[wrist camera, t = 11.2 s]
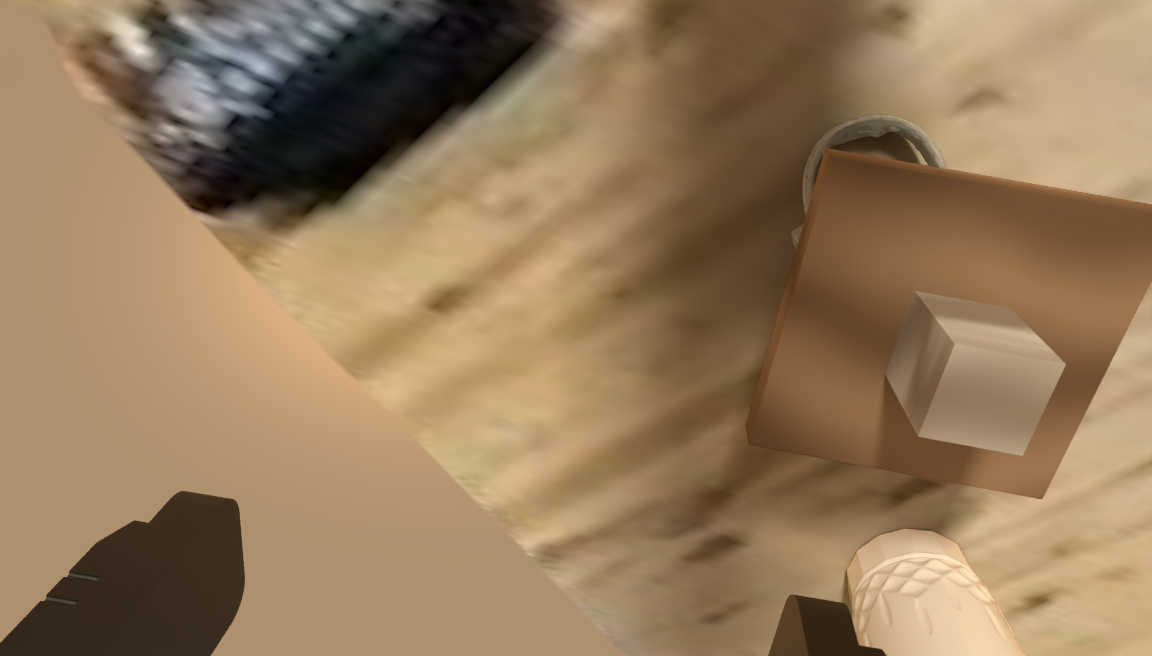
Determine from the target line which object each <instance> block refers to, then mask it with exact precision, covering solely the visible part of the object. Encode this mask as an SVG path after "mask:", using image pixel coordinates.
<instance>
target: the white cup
mask: <svg viewBox="0 0 1152 656" xmlns="http://www.w3.org/2000/svg"><path fill="white" fill-rule="evenodd" d="M847 581H848V592H849V597H850V602H851V606H852V620H853V625H854V629H855V633H856V636H857V640H858V643H859V645H861V646H867V647H872V648H878V649H882V650H883V651H884V653H885V654H886V655H887V656H1026V654H1025V652H1024V650H1023V649H1022V647H1021V645H1020V643H1019V642H1018V640H1017V638H1016V636H1015V635H1014V633H1013V631H1012V629H1011V628H1010V626H1009V624H1008V622H1007V621H1006V619H1005V617H1004V616H1003V614H1002V612H1001V610H1000V609H999V607H998V605H997V604H996V602H995V601H994V600H993V598H992V597H991V595H990V593H989V591H988V589H987V588H986V586H985V585H984V583H982V582H981V581H980V580H979V578H978V577H977V575H976V573H975V571H974V570H973V568H972V566H971V564H970V563H969V561H968V560H967V558H966V557H965V555H964V554H963V552H962V551H961V549H960V548H959V547H958V545H957V544H956V543H955V542H953V541H951V540H949V539H947V538H945V537H943V536H941V535H939V534H937V533H936V532H934V531H926V530H915V529H901V530H898V531H894V532H890V533H886V534H882V535H879V536H877V537H875V538H874V539H873V540H871V541H870V542H868V543H867V544H866V545H864V546H863V547H861V548H860V549H859V550H857V552H856V554H855V556H854V558H853V559H852V561H851V563H850V565H849V567H848V569H847Z"/></svg>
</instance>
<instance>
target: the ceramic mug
mask: <svg viewBox="0 0 1152 656" xmlns="http://www.w3.org/2000/svg"><path fill="white" fill-rule="evenodd" d="M886 132H895V133H897V134H899V135H900V136H902V137H904V138H906V139H908V140H910V141H911V142H912V143H913V144H914V146H915V148H916V149H917V150H919V151H920V153H921V154H922V156H923V158H924V159H925V161H926V162H927V164H928V166H933V167H939V168H944V169H947V168H946V164H945V161H944V159H943V157H942V155H941V152H940V150H939V149H938V148H937V147H936V145H935V143H934V142H933V140H932V139H931V138H930V137H929V136H928V135H927V134H926V133H925V132H924V131H923V130H922V129H921V128H920V127H918V126H917V125H916V124H914V123H912V122H909V121H907V120H904V119H902V118H899V117H896V116H890V115H885V114H877V115H867V116H863V117H857V118H854V119H851V120H848V121H846V122H843V123H841V124H839V125H837V126H835V127H834V128H832V129H830V130H829V131H828V132H826V133H825V134H824V135H823V136H822V138H821V139H820V140H819V141H818V142H817V144H816V145H815V146H814V148H813V150H812V152H811V154H810V156H809V158H808V161H807V164H806V167H805V171H804V176H803V183H802V191H803V204H804V213H805V216H806V214H807V210H808V207H809V203H810V200H811V196H812V193H813V180H814V174H815V169H816V167H817V166H818V163H819V161H820V158H821V157H822V156H823V154H824V151H825V148H831V147H833V146H836V145H840V144H843V143H845V142H848V141H851V140H855V139H858V138H863V137H868V136H872V137H880V136H882V135H884V134H885V133H886ZM802 228H803V225H801V226H799V227H797V228H795V229H794V230H793V231H792V239H793V244H794V246H795V250H796V248H797V245H798V242H799V238H800V235H801V231H802Z"/></svg>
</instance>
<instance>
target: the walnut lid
mask: <svg viewBox="0 0 1152 656" xmlns="http://www.w3.org/2000/svg"><path fill="white" fill-rule="evenodd" d="M1151 281H1152V204H1146V203H1140V202H1134V201H1129V200H1123V199H1117V198H1111V197H1106V196H1100V195H1094V194H1088V193H1082V192H1077V191H1071V190H1065V189H1059V188H1054V187H1048V186H1042V185H1036V184H1031V183H1025V182H1019V181H1013V180H1008V179H1002V178H996V177H990V176H985V175H979V174H973V173H967V172H962V171H956V170H950V169H944V168H939V167H933V166H927V165H921V164H915V163H910V162H904V161H898V160H892V159H887V158H881V157H875V156H869V155H864V154H858V153H852V152H846V151H841V150H835V149H829V148H825V151H824V154H823V158H822V161H821V165H820V168H819V172H818V175H817V179H816V182H815V186H814V189H813V193H812V196H811V200H810V203H809V207H808V210H807V214H806V217H805V221H804V224H803V228H802V231H801V235H800V238H799V242H798V245H797V248H796V252H795V255H794V259H793V262H792V266H791V269H790V273H789V276H788V280H787V283H786V287H785V290H784V294H783V297H782V301H781V304H780V308H779V311H778V315H777V318H776V322H775V325H774V329H773V332H772V336H771V339H770V343H769V346H768V350H767V353H766V357H765V360H764V364H763V367H762V371H761V374H760V378H759V381H758V385H757V388H756V392H755V395H754V399H753V402H752V406H751V409H750V413H749V416H748V420H747V423H746V430H747V436H748V442H749V445H753V446H759V447H764V448H769V449H775V450H780V451H785V452H791V453H796V454H801V455H807V456H812V457H818V458H823V459H828V460H834V461H839V462H844V463H850V464H855V465H860V466H866V467H871V468H877V469H882V470H887V471H893V472H898V473H903V474H909V475H914V476H919V477H925V478H930V479H936V480H941V481H946V482H952V483H957V484H962V485H968V486H973V487H978V488H984V489H989V490H995V491H1000V492H1005V493H1011V494H1016V495H1021V496H1027V497H1032V498H1037V499H1043V497H1044V495H1045V493H1046V491H1047V489H1048V487H1049V485H1050V483H1051V481H1052V479H1053V477H1054V475H1055V473H1056V471H1057V469H1058V467H1059V465H1060V463H1061V461H1062V459H1063V457H1064V455H1065V453H1066V451H1067V449H1068V447H1069V445H1070V443H1071V441H1072V439H1073V437H1074V435H1075V433H1076V431H1077V429H1078V427H1079V425H1080V423H1081V421H1082V419H1083V417H1084V415H1085V413H1086V411H1087V409H1088V407H1089V405H1090V403H1091V401H1092V399H1093V397H1094V395H1095V393H1096V391H1097V389H1098V387H1099V385H1100V383H1101V381H1102V379H1103V377H1104V375H1105V373H1106V371H1107V369H1108V367H1109V365H1110V363H1111V361H1112V359H1113V357H1114V355H1115V353H1116V351H1117V349H1118V347H1119V345H1120V343H1121V341H1122V339H1123V337H1124V335H1125V333H1126V331H1127V329H1128V327H1129V325H1130V323H1131V321H1132V319H1133V317H1134V315H1135V313H1136V311H1137V309H1138V307H1139V305H1140V303H1141V301H1142V299H1143V297H1144V295H1145V293H1146V291H1147V289H1148V287H1149V285H1150V283H1151Z"/></svg>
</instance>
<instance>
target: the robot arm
mask: <svg viewBox="0 0 1152 656" xmlns="http://www.w3.org/2000/svg"><path fill="white" fill-rule="evenodd" d="M244 582H245V573H244V561H243V549H242V537H241V525H240V513H239V507H238V504H237V502H236V501H235V500H233V499H229V498H223V497H217V496H211V495H205V494H199V493H193V492H187V491H181V492H179V493H177V494H175V495H174V496H173V497H172V498H171V499H170V500H169V501H168V502H167V503H166V504H165V505H164V506H163V508H162V509H161V510H160V511H159V512H158V513H157V514H156V516H155V517H154V518H153V519H152V520H151V521H150V522H149V523H146V522H140V521H133V522H131V523H129V524H127V525H126V526H124V527H122V528H121V529H119V530H117V531H116V532H114V533H112V534H110V535H109V536H107V537H105V538H104V539H102V540H101V541H99V542H97V543H96V544H95V545H94V546H93V547H92V548H91V549H90V550H89V551H88V552H87V553H86V554H85V555H84V556H83V557H82V558H81V559H80V561H79V562H78V563H77V564H76V565H75V566H74V567H73V568H72V569H71V570H70V571H69V575H68V577H63V578H62V579H61V580H60V581H59V582H58V584H56V585H55V587H54V588H53V589H52V590H51V591H50V592H49V593H48V594H47V597H46V599H45V601H40V602H39V603H38V604H37V605H36V606H35V607H34V608H33V609H32V610H31V612H30V613H29V614H28V615H27V616H26V617H25V618H24V619H23V620H22V621H21V622H20V623H19V624H18V625H17V626H16V627H15V628H14V629H13V630H12V631H11V632H10V633H9V634H8V635H7V637H6V638H5V639H4V640H3V641H2V642H1V643H0V656H211V654H212V653H213V651H214V650H215V648H216V647H217V645H218V643H219V642H220V640H221V639H222V637H223V636H224V634H225V633H226V631H227V630H228V628H229V626H230V625H231V623H232V622H233V620H234V618H235V616H236V614H237V611H238V609H239V606H240V603H241V600H242V596H243V591H244V584H245V583H244ZM769 656H887V655H886V654H885V653H884V651H883V650H882V649H878V648H872V647H867V646H861V645H859V643H858V640H857V636H856V633H855V629H854V625H853V622H852V618H851V614H850V611H849V609H848V607H847V606H846V605H845V604H844V603H839V602H834V601H828V600H822V599H816V598H810V597H804V596H798V595H790V596H789V597H788V599H787V601H786V603H785V606H784V609H783V612H782V615H781V618H780V621H779V625H778V628H777V631H776V634H775V637H774V640H773V643H772V646H771V649H770V652H769Z"/></svg>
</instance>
